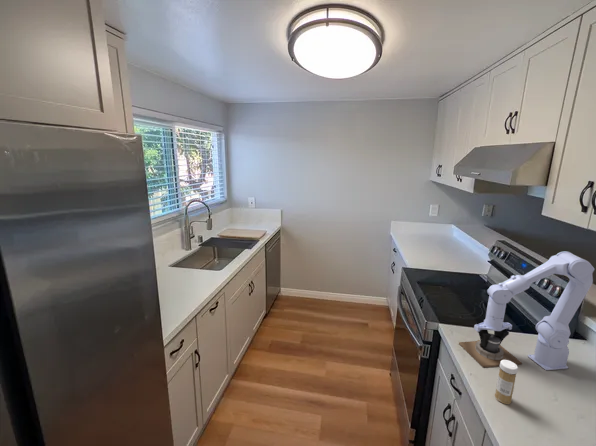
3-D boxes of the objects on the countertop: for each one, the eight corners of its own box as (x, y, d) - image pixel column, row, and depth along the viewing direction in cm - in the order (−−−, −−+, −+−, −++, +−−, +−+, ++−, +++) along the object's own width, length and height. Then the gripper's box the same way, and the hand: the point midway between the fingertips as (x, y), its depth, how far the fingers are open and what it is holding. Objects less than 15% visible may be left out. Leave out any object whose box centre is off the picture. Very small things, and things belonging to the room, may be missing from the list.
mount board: (493, 341, 122) (494, 335, 121) (521, 364, 108) (522, 358, 108) (458, 343, 120) (459, 338, 120) (482, 367, 107) (483, 361, 106)
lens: (490, 345, 116) (493, 332, 115) (500, 354, 111) (503, 341, 110) (479, 346, 116) (482, 333, 114) (488, 355, 111) (491, 342, 109)
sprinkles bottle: (513, 400, 92) (520, 365, 89) (507, 407, 90) (514, 371, 87) (497, 391, 96) (504, 357, 93) (491, 397, 93) (497, 362, 90)
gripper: (503, 308, 115) (498, 337, 118) (470, 310, 114) (466, 340, 117) (518, 318, 108) (512, 348, 111) (483, 320, 107) (478, 351, 110)
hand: (490, 345), depth 113 cm, fingers closed on lens, 5 cm apart
